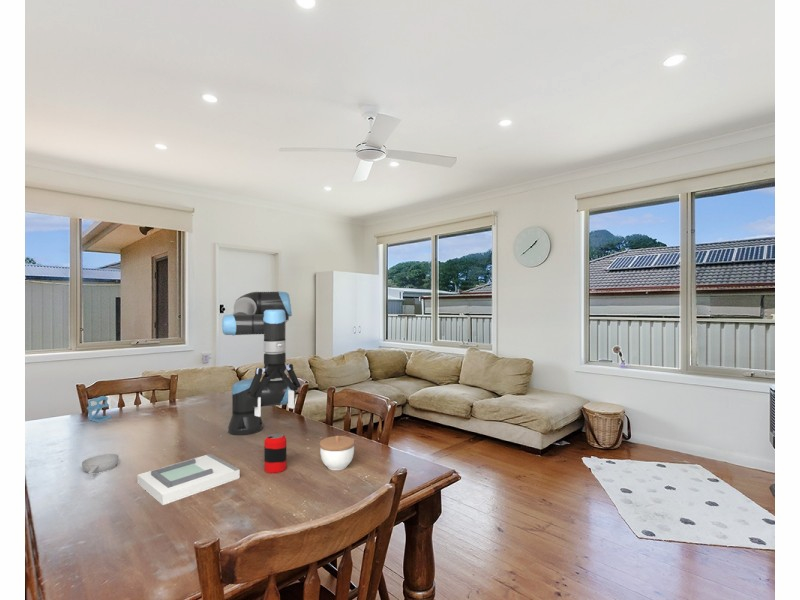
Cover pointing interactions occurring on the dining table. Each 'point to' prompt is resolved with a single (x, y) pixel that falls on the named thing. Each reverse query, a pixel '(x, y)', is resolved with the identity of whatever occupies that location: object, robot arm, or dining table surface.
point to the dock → (187, 478)
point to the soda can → (275, 453)
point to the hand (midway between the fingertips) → (275, 411)
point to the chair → (97, 409)
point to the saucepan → (100, 463)
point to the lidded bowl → (337, 451)
